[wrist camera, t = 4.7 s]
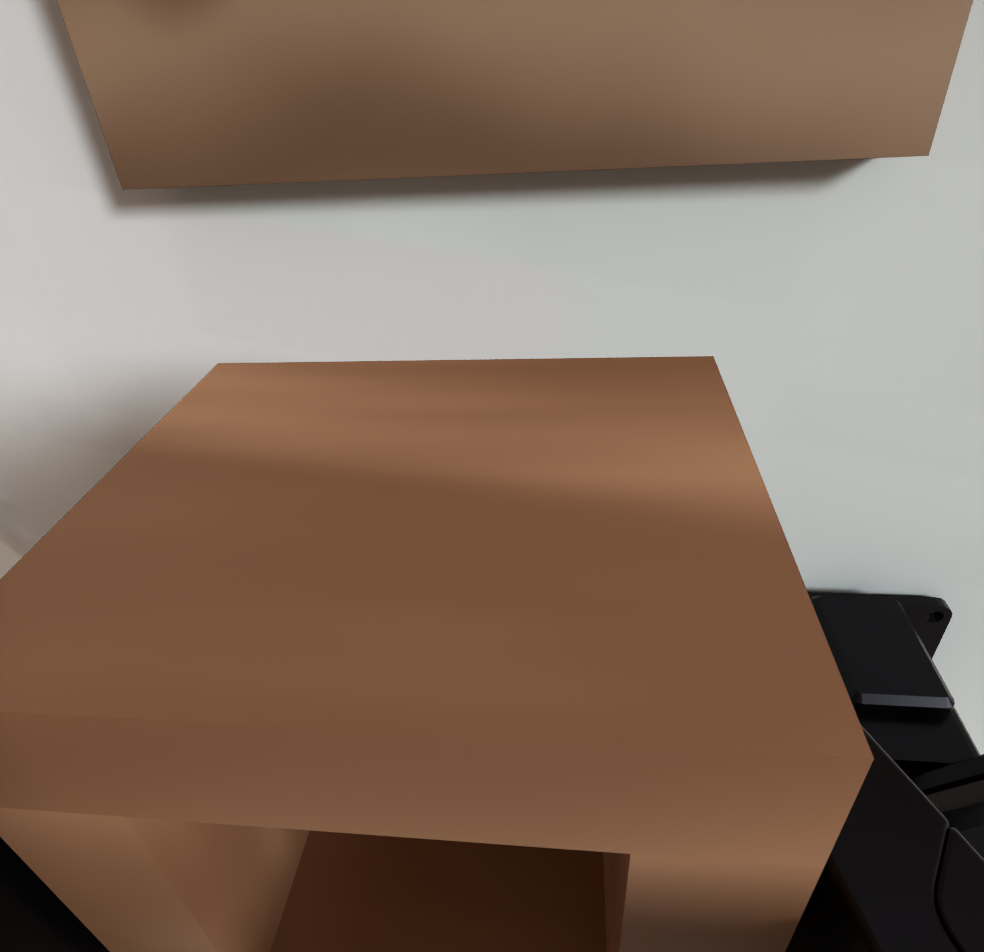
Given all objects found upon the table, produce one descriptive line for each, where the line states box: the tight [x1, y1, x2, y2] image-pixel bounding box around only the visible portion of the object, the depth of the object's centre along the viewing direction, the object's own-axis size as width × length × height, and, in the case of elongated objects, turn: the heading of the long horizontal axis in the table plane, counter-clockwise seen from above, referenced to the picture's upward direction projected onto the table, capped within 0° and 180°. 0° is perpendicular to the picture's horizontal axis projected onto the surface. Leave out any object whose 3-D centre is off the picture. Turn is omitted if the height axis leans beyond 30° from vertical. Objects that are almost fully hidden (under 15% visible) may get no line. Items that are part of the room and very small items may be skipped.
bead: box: [0, 356, 874, 952], centre depth 8 cm, size 6×6×5 cm
